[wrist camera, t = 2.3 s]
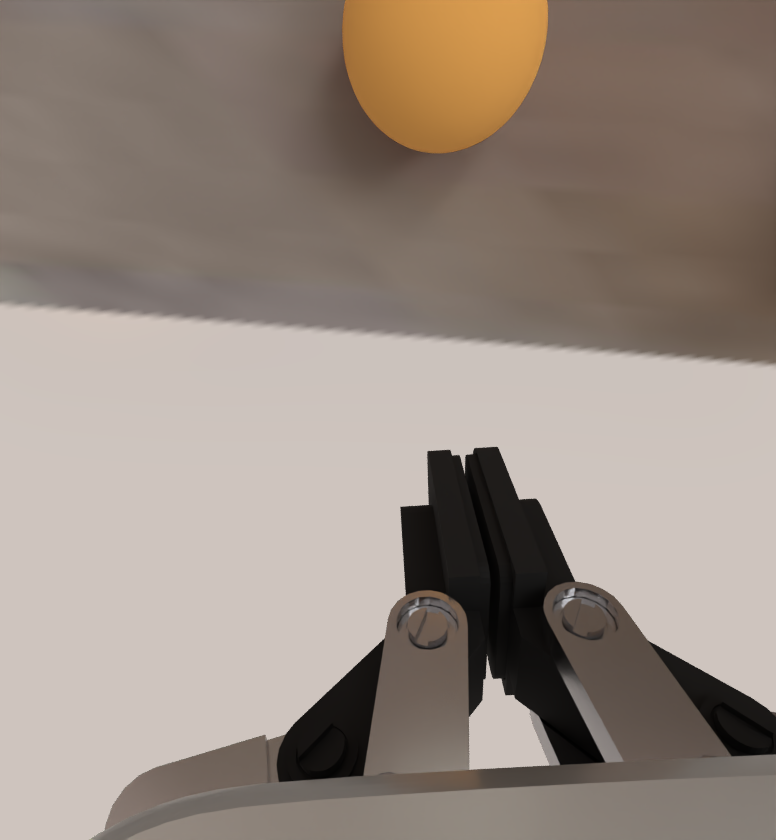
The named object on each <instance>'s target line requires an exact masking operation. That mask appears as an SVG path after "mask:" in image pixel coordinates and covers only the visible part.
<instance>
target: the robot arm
mask: <svg viewBox="0 0 776 840" xmlns="http://www.w3.org/2000/svg"><path fill="white" fill-rule="evenodd" d="M427 456H428V457H427V458H428V494H429V505H422V506H407V507H401V524H402V540H403V555H404V572H405V589H406V596H404V597H403V598H401V599H400V600H399V601H398V602H397V603H396V604H395V605H394V607H393V608H392V609H391V612H390V615H389V618H388V622H387V629H386V635H385V639H384V640H382V642H380V643H379V644H378V645H377V646H376V647H375V648H374V649H373V650H372V651H371V652H370V653H369V654H368V655H367V656H365V657H364V658H363V659H362V660H361V661H360V662H359V663H358V664H357V665H356V666H355V667H354V668H353V669H352V670H351V671H350V672H349V673H347V674H346V675H345V676H344V677H343V678H342V679H341V680H340V681H339V682H338V683H337V684H336V685H335V686H334V687H333V688H332V689H331V690H329V691H328V692H327V693H326V694H325V695H324V696H323V697H322V698H321V699H320V700H319V701H318V702H317V703H316V704H315V705H313V707H311V708H310V709H309V710H308V711H307V712H306V713H305V714H304V715H303V716H302V717H301V718H300V719H299V720H298V721H297V722H295V724H294V725H293V726H292V727H291V728H290V730H289V731H288V732H287V734H286V735H283V736H280V737H276V738H273V739H270V740H267V738H266V735H263V736H259V737H256V738H252V739H249V740H246V741H243V742H239V743H236V744H232V745H230V746H226V747H222V748H219V749H216V750H212V751H209V752H206V753H203V754H199V755H196V756H192V757H189V758H186V759H182V760H179V761H176V762H172V763H169V764H166V765H162V766H159V767H156V768H153V769H151V770H149V771H147V772H145V773H143V774H141V775H139V776H138V777H137V778H136V779H134V780H133V781H132V782H131V783H130V784H129V785H128V786H127V787H125V789H124V790H123V791H122V793H121V794H120V796H119V797H118V798H117V800H116V801H115V803H114V804H113V806H112V808H111V811H110V814H109V817H108V820H107V822H106V826H105V830H104V831H103V832H101V833H99V834H97V835H96V836H94V837H93V838H91V839H90V840H776V713H775V712H770V711H769V710H768V709H767V708H766V707H764V706H763V705H761V704H760V703H758V702H757V701H755V700H754V699H752V698H751V697H749V696H747V695H745V694H743V693H741V692H740V691H738V690H736V689H734V688H732V687H730V686H729V685H727V684H725V683H723V682H721V681H720V680H718V679H716V678H714V677H713V676H711V675H709V674H707V673H705V672H704V671H702V670H700V669H698V668H696V667H694V666H693V665H691V664H689V663H687V662H685V661H684V660H682V659H680V658H678V657H676V656H675V655H672V654H671V653H669V652H667V651H665V650H664V649H662V648H660V647H658V646H657V645H655V644H653V643H651V642H649V641H648V640H647V639H646V638H645V636H644V635H643V634H642V632H641V631H640V629H639V628H638V627H637V625H636V624H635V622H634V621H633V620H632V618H631V617H630V616H629V614H628V613H627V611H626V610H625V609H624V607H623V606H622V605H621V604H620V603H619V602H618V600H617V599H616V598H615V597H614V596H612V595H611V594H609V593H608V592H606V591H605V590H603V589H601V588H599V587H596V586H594V585H591V584H587V583H581V582H575V580H574V578H573V576H572V573H571V572H570V569H569V567H568V565H567V562H566V560H565V558H564V556H563V553H562V551H561V549H560V547H559V545H558V542H557V540H556V538H555V536H554V534H553V531H552V529H551V527H550V525H549V523H548V520H547V518H546V516H545V514H544V512H543V510H542V507H541V505H540V503H539V502H538V500H537V499H522V500H519V499H518V496H517V494H516V491H515V488H514V486H513V484H512V481H511V479H510V476H509V473H508V471H507V468H506V466H505V463H504V461H503V459H502V456H501V454H500V451H499V449H498V447H487V448H475V449H474V451H473V454H471V455H466V457H465V474H464V470H463V466H462V463H461V458H460V456H459V455H454V456H452V454H451V451H450V450H440V451H428V454H427ZM487 656H488V661H489V666H490V670H491V674H492V677H493V679H498V678H502V683H503V687H504V691H505V695H514V696H515V699H517V700H518V701H519V702H521V703H522V704H523V705H525V706H526V707H527V708H529V709H530V716H531V720H532V724H533V726H534V729H535V731H536V733H537V736H538V738H539V740H540V743H541V745H542V748H543V750H544V752H545V755H546V757H547V760H548V762H549V764H550V766H533V767H515V768H496V769H477V770H469V716H470V715H471V714H472V713H473V711H474V710H475V709H476V707H477V706H478V705H479V704H480V702H481V701H482V695H483V679H485V678H486V662H487Z"/></svg>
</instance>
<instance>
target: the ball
mask: <svg viewBox="0 0 776 840" xmlns="http://www.w3.org/2000/svg"><path fill="white" fill-rule="evenodd" d="M547 28H548V3H547V0H345V5H344V11H343V25H342V35H343V51H344V58H345V64H346V68H347V72H348V76H349V80H350V82H351V85H352V88H353V90H354V93H355V95H356V97H357V99H358V101H359V103H360V105H361V106H362V108H363V109H364V111H365V112H366V114H367V115H368V117H369V118H370V119H371V120H372V122H373V123H374V124H375V125H376V126H377V127H378V128H379V129H380V130H381V131H382V132H383V133H385V134H386V135H387V136H388V137H390V138H391V139H393V140H394V141H396V142H397V143H399V144H401V145H403V146H405V147H408V148H410V149H414V150H417V151H420V152H427V153H449V152H455V151H459V150H462V149H466V148H468V147H471V146H473V145H475V144H477V143H480V142H481V141H483V140H484V139H486V138H488V137H489V136H491V135H492V134H493V133H495V132H496V131H497V130H498V129H500V128H501V127H502V126H503V125H504V124H505V123H506V122H507V121H508V120H509V119H510V118H511V117H512V115H513V114H514V113H515V111H516V110H517V109H518V108H519V106H520V105H521V103H522V102H523V100H524V98H525V97H526V95H527V93H528V92H529V90H530V88H531V85H532V83H533V81H534V79H535V77H536V75H537V72H538V69H539V66H540V63H541V60H542V56H543V52H544V48H545V43H546V35H547Z"/></svg>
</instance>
